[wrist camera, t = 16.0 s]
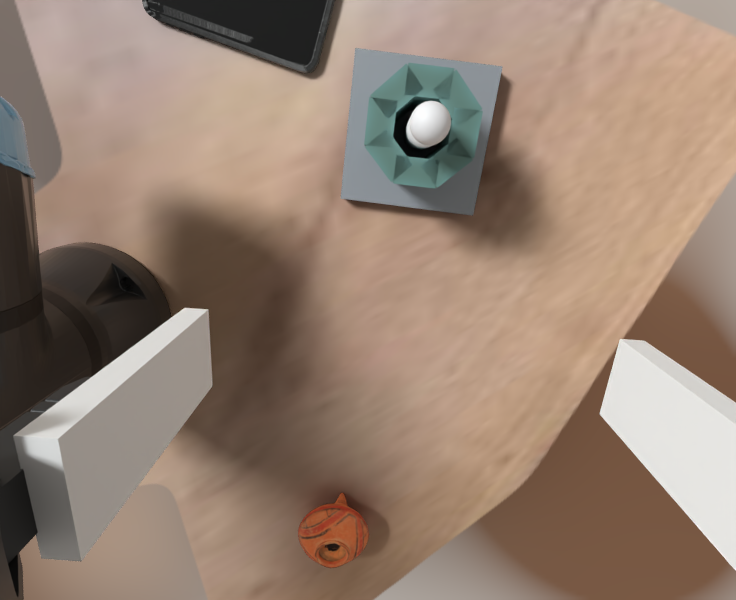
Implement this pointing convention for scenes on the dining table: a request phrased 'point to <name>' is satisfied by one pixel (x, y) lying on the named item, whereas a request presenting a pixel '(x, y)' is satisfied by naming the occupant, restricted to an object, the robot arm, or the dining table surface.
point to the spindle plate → (369, 170)
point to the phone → (254, 26)
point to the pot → (333, 533)
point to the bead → (405, 95)
